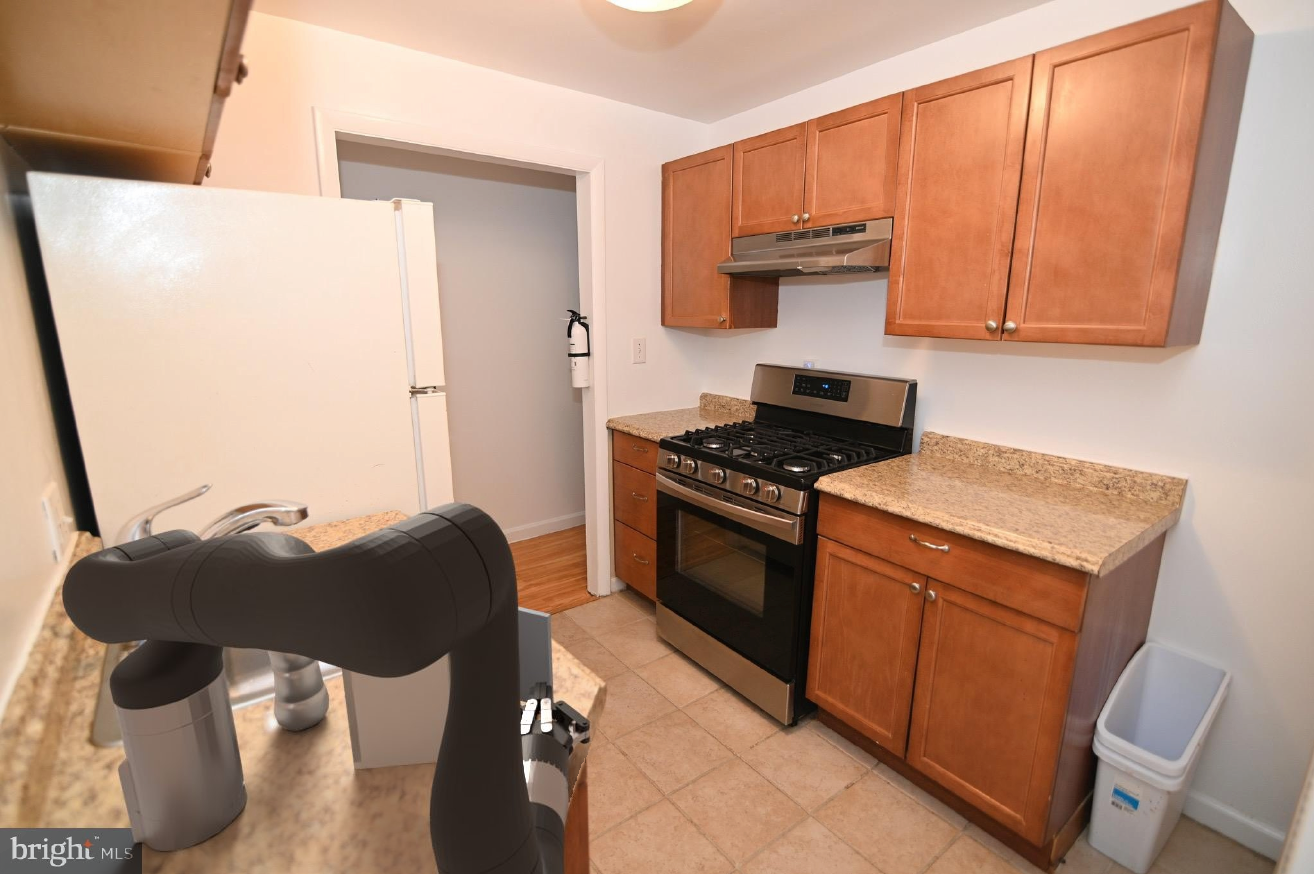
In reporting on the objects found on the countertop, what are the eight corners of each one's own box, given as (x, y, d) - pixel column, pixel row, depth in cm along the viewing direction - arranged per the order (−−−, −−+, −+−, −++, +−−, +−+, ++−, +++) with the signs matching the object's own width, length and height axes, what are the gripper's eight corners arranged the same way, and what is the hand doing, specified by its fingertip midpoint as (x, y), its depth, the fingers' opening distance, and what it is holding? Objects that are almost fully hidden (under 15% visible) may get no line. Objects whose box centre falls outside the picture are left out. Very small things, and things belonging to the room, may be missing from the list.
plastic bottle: (300, 743, 78) (279, 605, 73) (265, 729, 80) (242, 594, 76) (342, 712, 84) (325, 582, 79) (308, 700, 86) (289, 573, 82)
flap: (550, 711, 83) (547, 615, 80) (472, 687, 88) (466, 596, 85) (554, 707, 84) (550, 612, 80) (476, 683, 89) (470, 593, 86)
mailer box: (354, 769, 74) (339, 654, 70) (389, 696, 87) (378, 597, 84) (454, 760, 75) (444, 648, 72) (473, 690, 89) (466, 592, 85)
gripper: (595, 757, 61) (591, 658, 78) (462, 769, 59) (488, 666, 76) (596, 818, 63) (592, 708, 79) (467, 831, 61) (491, 716, 78)
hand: (541, 687), depth 78 cm, fingers closed
